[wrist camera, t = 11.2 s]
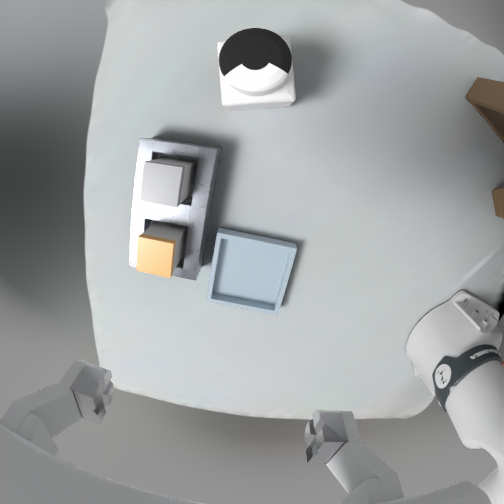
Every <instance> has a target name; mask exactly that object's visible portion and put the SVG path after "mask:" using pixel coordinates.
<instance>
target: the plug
mask: <svg viewBox="0 0 504 504" xmlns="http://www.w3.org/2000/svg"><path fill="white" fill-rule="evenodd" d="M187 230H188V227H187V226H182V225H177V224H172V223H167V222H162V221H156V222H154V223H153V224H152V225H151V226H150V227H149V228H148V229H147V230H146V231H144V232H143V233H142V234H140V235H139V236H138V244H137V268H136V270H137V271H141V272H146V273H150V274H154V275H159V276H163V277H168V278H171V276H172V274H173V272H174V270H175V268H176V267H177V265H178V263H179V262H180V260H181V258H182V257H183V255H184V253H185V245H186V237H187Z"/></svg>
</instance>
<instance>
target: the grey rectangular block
mask: <svg viewBox="0 0 504 504" xmlns="http://www.w3.org/2000/svg"><path fill="white" fill-rule="evenodd" d="M196 165H197V161H192V160H186V159H180V158H173V157H166V156H165V157H162V158H158V159H154V160H151V161H145V162H144V167H143V175H142V183H141V193H140V201H143V202H149V203H154V204H160V205H165V206H171V207H176V208H177V207H178V206H179V205H180V203H181V202H183V201H184V200H185V199H186V198H187V197H188V196H189V195H190V194H192V189H193V183H194V177H195V171H196Z"/></svg>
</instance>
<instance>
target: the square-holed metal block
mask: <svg viewBox="0 0 504 504" xmlns="http://www.w3.org/2000/svg"><path fill="white" fill-rule="evenodd" d="M221 149H222V148H218V147H212V146H206V145H200V144H194V143H187V142H180V141H173V140H165V139H157V138H145V139H140V143H139V150H138V158H137V165H136V174H135V183H134V193H133V204H132V217H131V233H130V256H129V266H133V267H137V244H138V236H139V235H140V234H142V233H143V232H144V231H146V230H147V229H148V228H149V227H150V226H151V225H152V224H153V223H154V222H156V221H162V222H167V223H172V224H177V225H182V226H187V227H188V230H187V237H186V245H185V253H184V255H183V257H182V258H181V260H180V262H179V263H178V265H177V267H176V268H175V270H174V272H173V274H172V276H177V277H182V278H186V279H191V280H196V279H197V276H198V274H199V272H200V269H201V267H202V260H203V253H204V247H205V240H206V234H207V228H208V222H209V216H210V210H211V204H212V198H213V192H214V187H215V181H216V176H217V170H218V165H219V160H220V154H221ZM165 156H166V157H173V158H180V159H186V160H192V161H197V165H196V171H195V177H194V183H193V189H192V194H190V195H189V196H188V197H187V198H186V199H185V200H184V201H183V202H181V203H180V205H179V206H178V207H177V208H176V207H171V206H165V205H160V204H154V203H149V202H143V201H140V193H141V183H142V175H143V167H144V162H145V161H151V160H154V159H158V158H162V157H165Z"/></svg>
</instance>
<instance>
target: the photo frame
mask: <svg viewBox="0 0 504 504" xmlns="http://www.w3.org/2000/svg"><path fill="white" fill-rule="evenodd" d="M465 98H466V99H467V100H468V101H469V102H470V103H471V104H472V105H473V106H474V108H475V109H476V110H477V111H478V112H479V113H480V114H481V115H482V117H483V118H484V119H485V120H486V121H487V122H488V124H489V125H490V126H491V127H492V129H493V130H494V131H495V132H496V134H497V135H498V136H499V137H500V139H501V140H502V141H503V143H504V83H503V82H499V81H494V80H489V79H484V78H477V79H476V81H475V83H474V84H473V86H472V87H471V89H470V91H469V92H468V94H467V95H466V97H465ZM492 194H493V200H494V205H495V211H496V216H498V217H501V218H504V187H502V188H499V189H496V190H494V191H492Z"/></svg>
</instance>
